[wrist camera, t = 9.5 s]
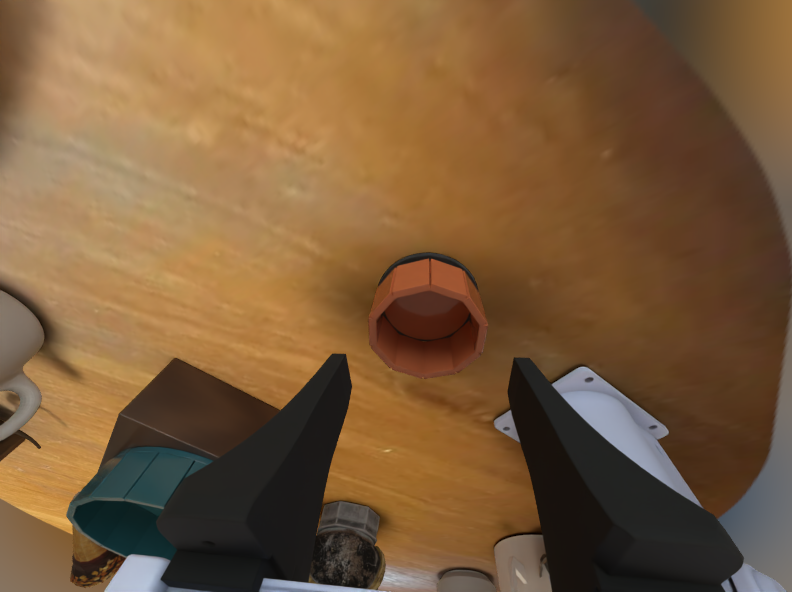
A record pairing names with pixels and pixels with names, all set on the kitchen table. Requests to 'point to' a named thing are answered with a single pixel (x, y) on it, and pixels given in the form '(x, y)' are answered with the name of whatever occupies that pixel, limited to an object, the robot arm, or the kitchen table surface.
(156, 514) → the big bowl
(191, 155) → the kitchen table surface
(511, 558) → the cup
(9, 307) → the cup
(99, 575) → the ice cream cone
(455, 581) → the can
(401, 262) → the coaster
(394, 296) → the small bowl
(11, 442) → the figurine
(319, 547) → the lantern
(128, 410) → the stand
